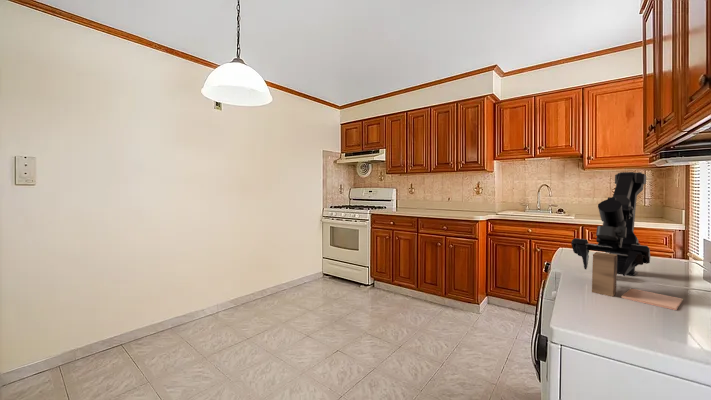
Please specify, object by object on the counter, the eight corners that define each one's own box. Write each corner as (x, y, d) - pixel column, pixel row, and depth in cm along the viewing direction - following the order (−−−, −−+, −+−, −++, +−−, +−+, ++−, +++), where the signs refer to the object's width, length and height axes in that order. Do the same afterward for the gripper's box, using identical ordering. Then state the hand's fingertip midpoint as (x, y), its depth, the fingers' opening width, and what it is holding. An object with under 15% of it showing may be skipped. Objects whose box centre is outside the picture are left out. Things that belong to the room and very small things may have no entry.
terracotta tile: (631, 290, 93) (631, 288, 93) (682, 300, 84) (682, 298, 84) (621, 297, 87) (621, 295, 87) (676, 310, 78) (676, 308, 78)
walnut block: (595, 288, 95) (596, 251, 94) (616, 292, 91) (617, 254, 91) (591, 292, 92) (592, 254, 91) (612, 296, 88) (614, 257, 87)
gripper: (573, 214, 100) (562, 251, 94) (650, 218, 86) (644, 262, 79) (579, 235, 106) (569, 270, 99) (652, 242, 91) (646, 284, 85)
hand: (603, 271), depth 90 cm, fingers open, 9 cm apart
